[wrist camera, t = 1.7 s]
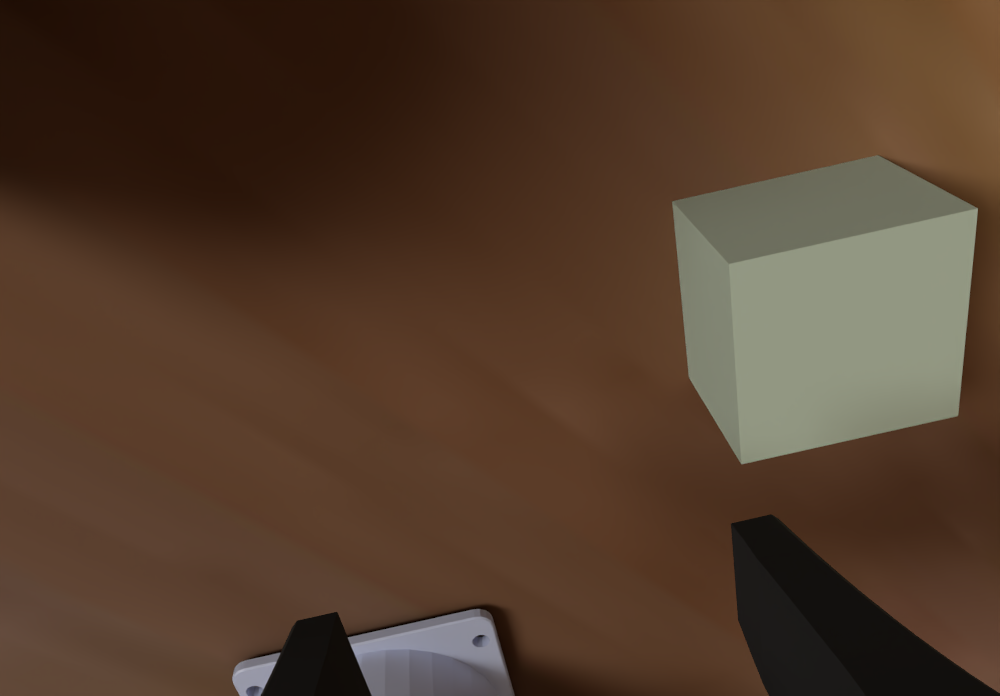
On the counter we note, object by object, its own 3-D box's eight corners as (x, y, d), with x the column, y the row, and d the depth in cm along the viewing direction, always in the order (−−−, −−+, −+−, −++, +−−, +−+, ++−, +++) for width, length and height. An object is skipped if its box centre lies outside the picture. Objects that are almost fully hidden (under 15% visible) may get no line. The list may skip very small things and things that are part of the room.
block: (869, 334, 22) (958, 415, 19) (687, 375, 22) (741, 464, 19) (875, 153, 20) (977, 208, 16) (670, 199, 20) (729, 263, 16)
